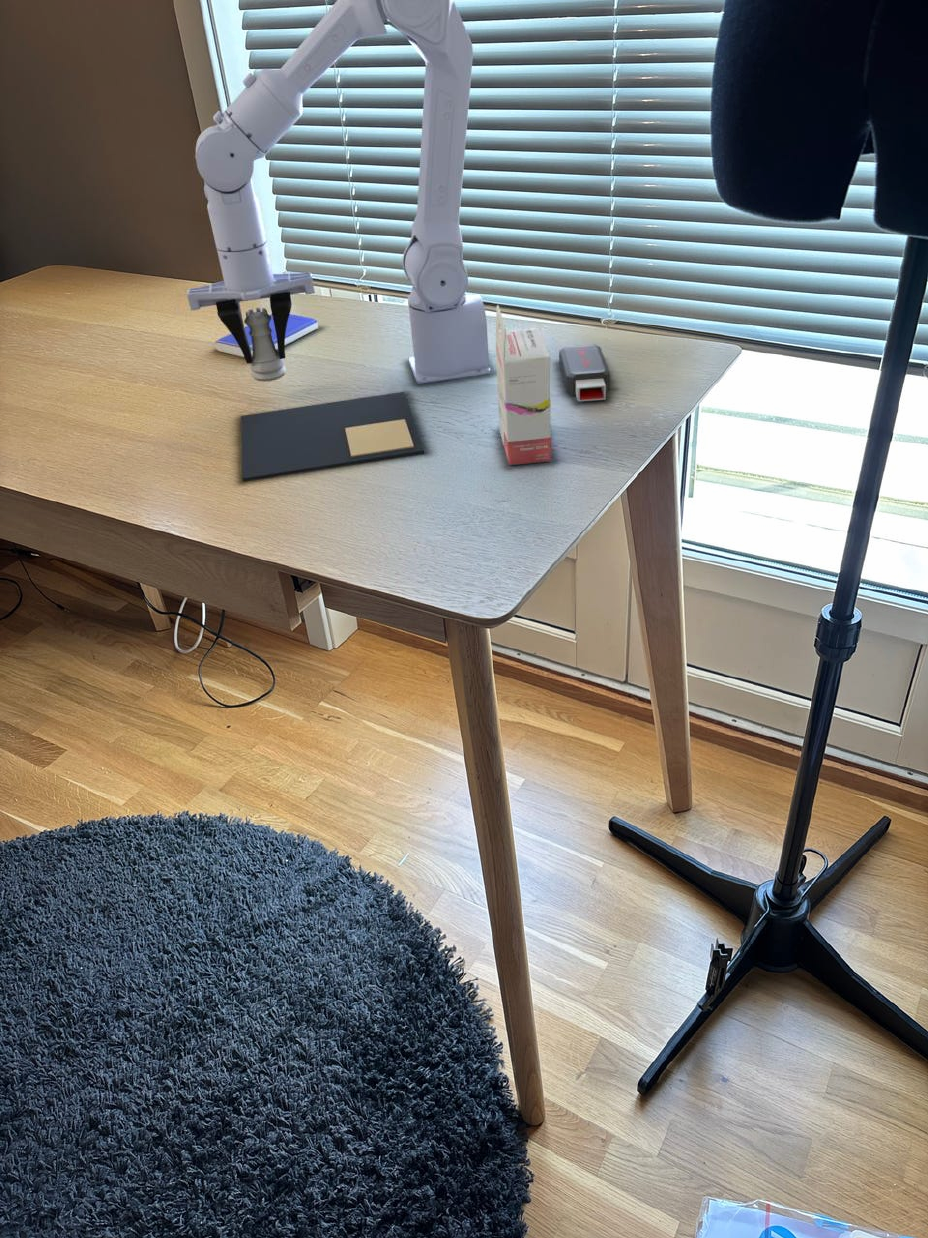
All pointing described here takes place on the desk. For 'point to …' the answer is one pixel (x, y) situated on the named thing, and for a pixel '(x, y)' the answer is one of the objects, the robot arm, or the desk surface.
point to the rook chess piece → (263, 348)
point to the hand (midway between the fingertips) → (265, 358)
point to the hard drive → (294, 330)
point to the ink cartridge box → (523, 393)
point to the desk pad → (327, 436)
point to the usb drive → (584, 372)
